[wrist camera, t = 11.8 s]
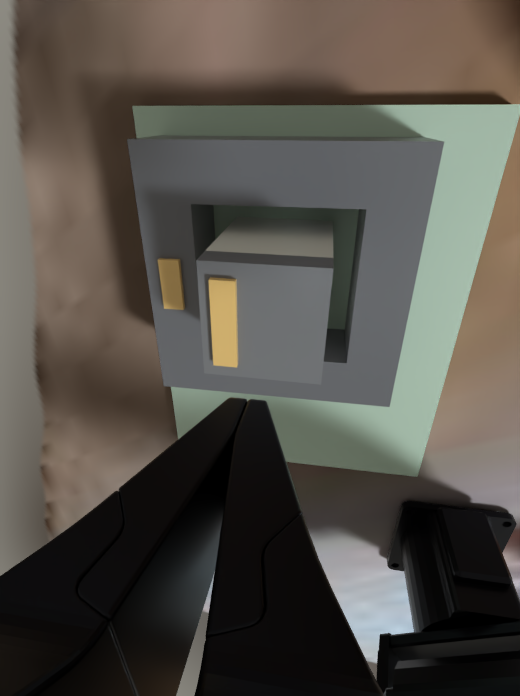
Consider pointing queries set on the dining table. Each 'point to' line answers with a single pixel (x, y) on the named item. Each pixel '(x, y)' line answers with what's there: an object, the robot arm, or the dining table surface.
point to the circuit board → (432, 277)
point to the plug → (267, 299)
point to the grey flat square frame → (288, 191)
